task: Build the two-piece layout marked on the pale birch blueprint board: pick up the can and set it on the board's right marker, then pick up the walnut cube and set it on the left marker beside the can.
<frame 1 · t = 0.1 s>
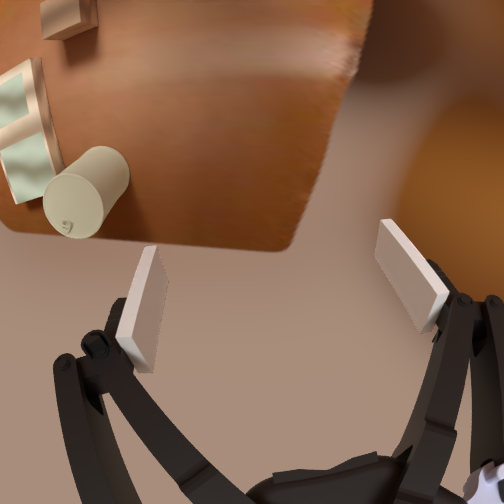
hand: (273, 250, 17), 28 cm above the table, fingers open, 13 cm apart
board: (27, 130, 34), on the table
can: (103, 173, 41), on the table
cube: (78, 16, 26), on the table
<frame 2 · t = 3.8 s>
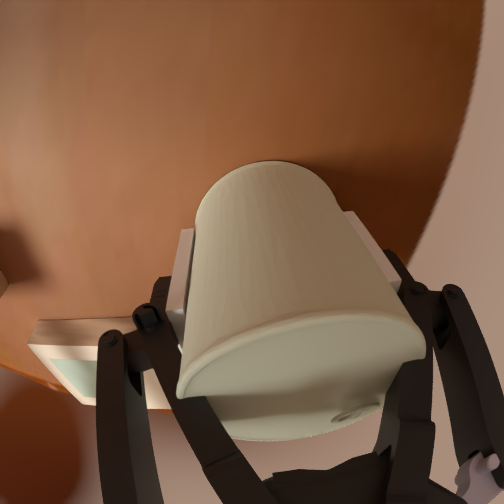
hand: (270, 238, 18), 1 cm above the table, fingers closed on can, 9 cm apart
board: (156, 356, 26), on the table
can: (268, 228, 19), on the table, touching gripper
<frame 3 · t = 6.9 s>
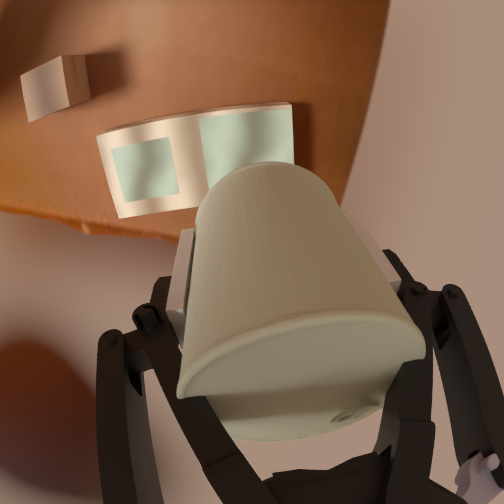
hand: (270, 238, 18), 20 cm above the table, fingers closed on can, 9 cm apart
board: (197, 155, 34), on the table
can: (268, 229, 19), point 19 cm above the table, touching gripper
cube: (68, 84, 27), on the table
when the fingers open (5 cm above the table, at t = 9.9 s): can drops 1 cm, resting on board.
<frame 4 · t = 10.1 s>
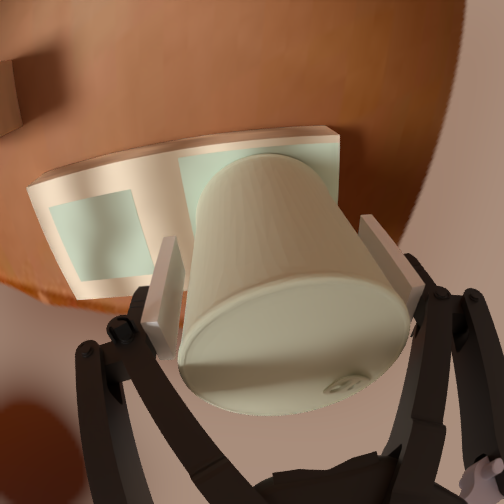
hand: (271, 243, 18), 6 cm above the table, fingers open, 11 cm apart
board: (182, 209, 22), on the table
can: (264, 217, 20), point 3 cm above the table, touching board
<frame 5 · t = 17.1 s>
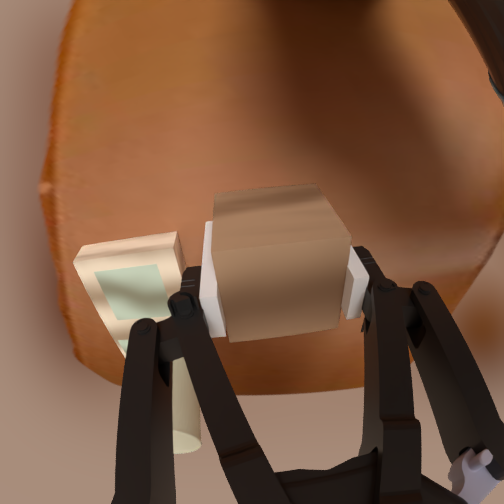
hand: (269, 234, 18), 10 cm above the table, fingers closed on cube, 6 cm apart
board: (155, 314, 35), on the table
can: (166, 360, 36), point 3 cm above the table, touching board
cube: (268, 231, 19), point 9 cm above the table, touching gripper
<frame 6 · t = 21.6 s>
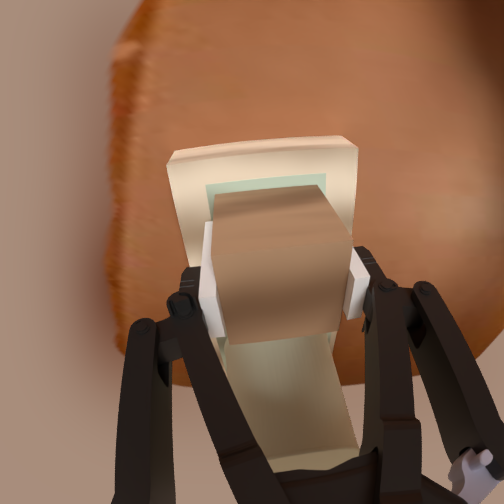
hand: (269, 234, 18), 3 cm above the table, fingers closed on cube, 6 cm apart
board: (269, 273, 25), on the table
can: (276, 344, 26), point 3 cm above the table, touching board
cube: (269, 232, 19), point 3 cm above the table, touching board, gripper
when the fingers open (3 cm above the table, at t = 22.0 s): cube stays where it is, resting on board.
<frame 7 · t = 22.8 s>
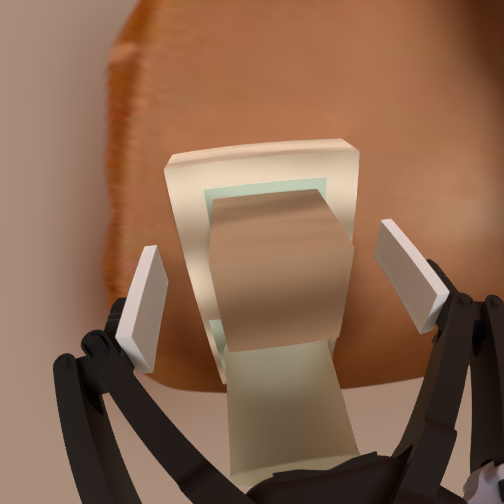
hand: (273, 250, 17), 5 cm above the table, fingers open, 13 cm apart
board: (268, 277, 24), on the table
can: (275, 348, 25), point 3 cm above the table, touching board
cube: (268, 237, 18), point 3 cm above the table, touching board
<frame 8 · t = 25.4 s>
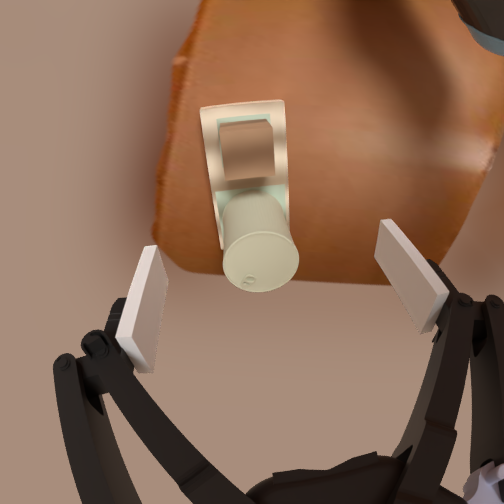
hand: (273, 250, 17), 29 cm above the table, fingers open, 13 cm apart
board: (248, 173, 44), on the table
can: (253, 217, 45), point 3 cm above the table, touching board
cube: (245, 141, 38), point 3 cm above the table, touching board
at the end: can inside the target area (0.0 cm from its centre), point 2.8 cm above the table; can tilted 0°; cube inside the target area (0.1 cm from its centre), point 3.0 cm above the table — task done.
